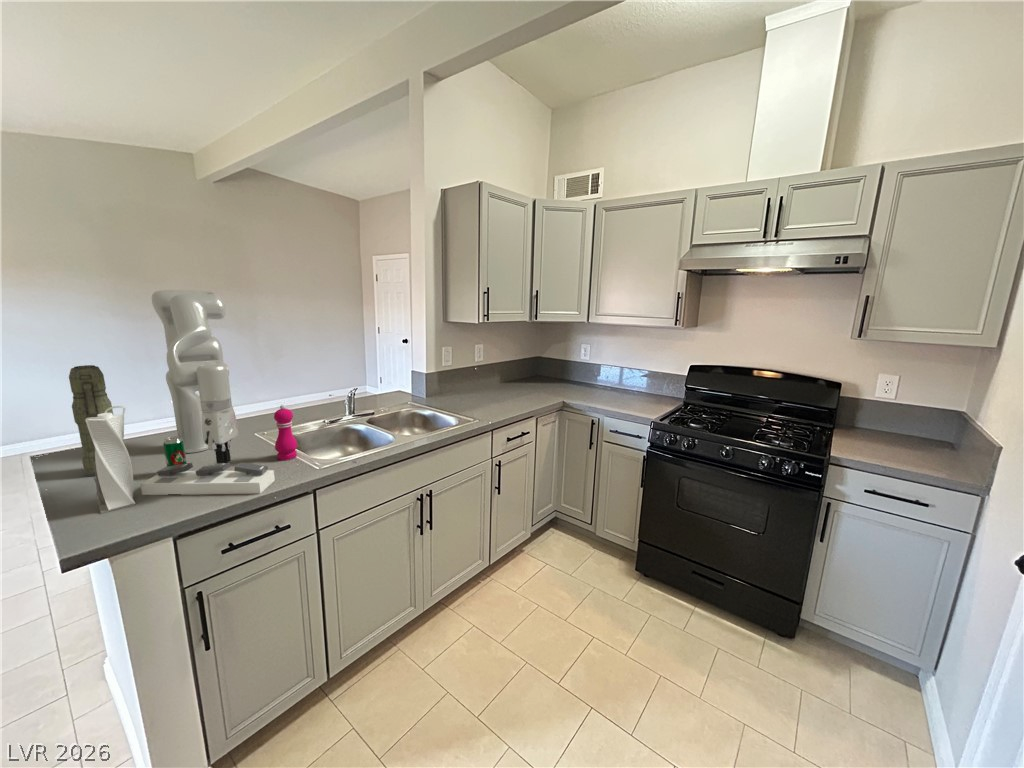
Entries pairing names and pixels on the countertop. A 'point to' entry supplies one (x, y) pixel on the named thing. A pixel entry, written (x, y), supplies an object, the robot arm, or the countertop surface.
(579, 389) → the countertop surface
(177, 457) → the soda can
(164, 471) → the rocker
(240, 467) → the block
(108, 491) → the skyscraper
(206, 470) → the middle rocker
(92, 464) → the olive piece
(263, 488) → the power strip
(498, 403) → the countertop surface
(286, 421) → the pepper mill
